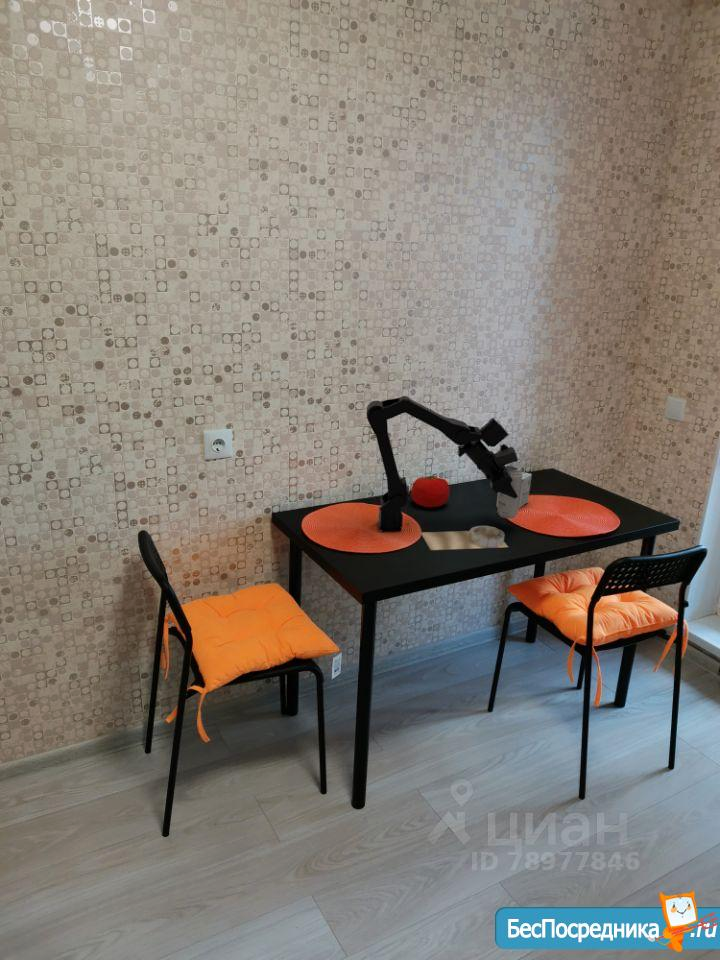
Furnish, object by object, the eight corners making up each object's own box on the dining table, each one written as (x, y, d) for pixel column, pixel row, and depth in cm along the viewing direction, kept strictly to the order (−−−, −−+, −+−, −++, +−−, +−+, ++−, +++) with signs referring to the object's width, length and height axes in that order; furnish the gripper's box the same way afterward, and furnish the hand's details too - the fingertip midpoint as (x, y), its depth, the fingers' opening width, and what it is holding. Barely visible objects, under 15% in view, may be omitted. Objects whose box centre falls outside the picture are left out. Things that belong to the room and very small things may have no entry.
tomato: (452, 511, 238) (454, 482, 234) (413, 512, 236) (415, 482, 233) (443, 498, 248) (446, 470, 245) (407, 499, 247) (408, 470, 243)
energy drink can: (494, 511, 225) (500, 464, 220) (513, 511, 225) (519, 465, 220) (500, 519, 219) (505, 471, 214) (519, 519, 220) (525, 471, 215)
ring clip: (475, 548, 209) (476, 540, 209) (465, 534, 218) (465, 526, 218) (508, 547, 211) (509, 539, 210) (496, 533, 220) (497, 525, 219)
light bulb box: (510, 498, 251) (514, 468, 247) (528, 503, 247) (532, 473, 243) (495, 507, 243) (498, 476, 240) (513, 512, 239) (517, 481, 236)
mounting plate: (430, 553, 207) (430, 550, 207) (420, 536, 219) (420, 532, 218) (508, 550, 211) (508, 547, 211) (494, 533, 222) (494, 530, 222)
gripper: (509, 448, 205) (543, 487, 209) (497, 430, 223) (529, 466, 227) (477, 473, 208) (512, 511, 212) (469, 453, 225) (501, 489, 229)
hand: (514, 493), depth 220 cm, fingers closed on energy drink can, 6 cm apart
